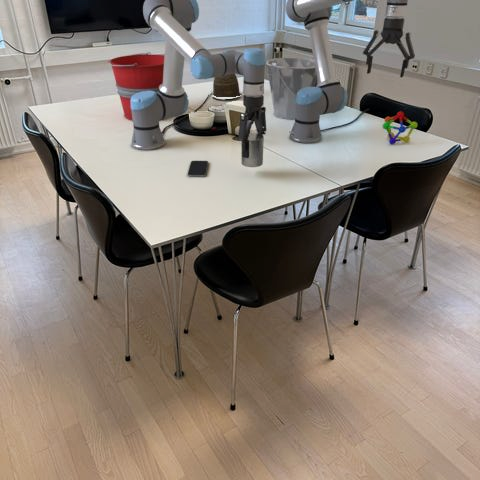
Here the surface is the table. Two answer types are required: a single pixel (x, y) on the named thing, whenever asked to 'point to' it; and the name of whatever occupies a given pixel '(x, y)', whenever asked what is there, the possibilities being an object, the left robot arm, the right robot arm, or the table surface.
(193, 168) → the smartphone
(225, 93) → the bell
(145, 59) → the bucket
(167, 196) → the table surface
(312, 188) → the table surface
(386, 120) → the educational toy
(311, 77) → the bucket
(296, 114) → the right robot arm
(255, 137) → the tin
